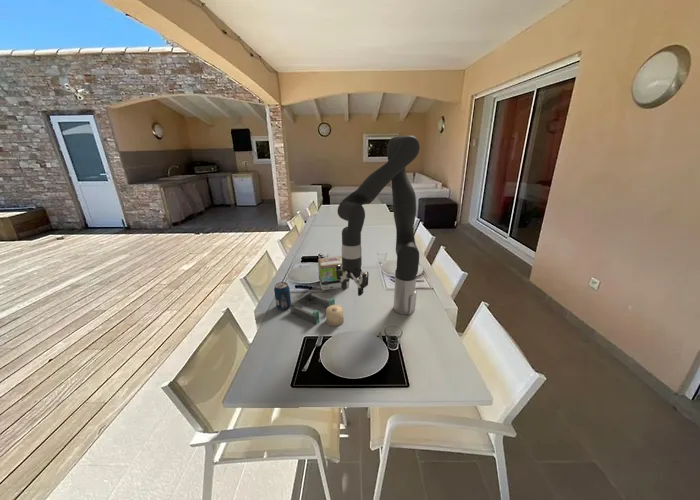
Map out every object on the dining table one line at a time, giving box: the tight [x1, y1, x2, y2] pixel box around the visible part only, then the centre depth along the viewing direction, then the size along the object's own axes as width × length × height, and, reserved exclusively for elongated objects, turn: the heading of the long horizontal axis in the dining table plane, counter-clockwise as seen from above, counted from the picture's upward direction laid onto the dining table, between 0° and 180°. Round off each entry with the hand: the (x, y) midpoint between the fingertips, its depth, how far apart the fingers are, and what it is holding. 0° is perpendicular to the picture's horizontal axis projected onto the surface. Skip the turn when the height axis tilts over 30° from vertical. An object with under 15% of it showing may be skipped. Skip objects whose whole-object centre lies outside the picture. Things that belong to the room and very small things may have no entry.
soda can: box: [273, 281, 292, 311], centre depth 134 cm, size 7×7×12 cm
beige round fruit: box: [325, 304, 345, 327], centre depth 125 cm, size 7×7×6 cm
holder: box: [289, 291, 336, 326], centre depth 132 cm, size 16×13×6 cm
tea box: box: [317, 255, 350, 292], centre depth 153 cm, size 15×10×15 cm
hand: (352, 292), depth 114 cm, fingers open, 7 cm apart
